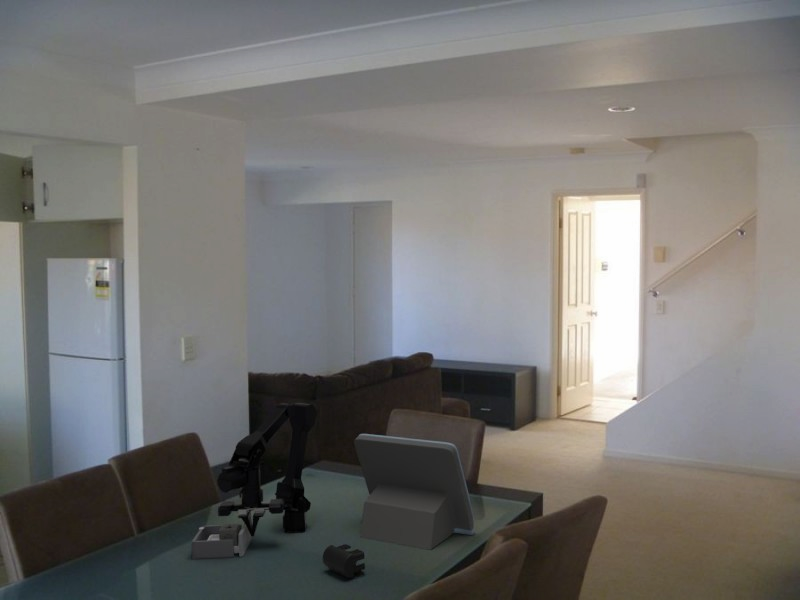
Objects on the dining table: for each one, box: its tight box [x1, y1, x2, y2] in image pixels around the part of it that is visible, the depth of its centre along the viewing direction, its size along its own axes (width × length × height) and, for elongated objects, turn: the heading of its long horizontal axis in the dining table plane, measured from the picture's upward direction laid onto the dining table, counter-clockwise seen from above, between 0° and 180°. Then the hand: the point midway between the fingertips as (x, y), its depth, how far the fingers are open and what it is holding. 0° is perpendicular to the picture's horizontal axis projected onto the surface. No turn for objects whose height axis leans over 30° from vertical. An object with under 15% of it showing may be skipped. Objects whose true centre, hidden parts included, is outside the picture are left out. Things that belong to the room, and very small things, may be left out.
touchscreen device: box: [353, 433, 475, 551], centre depth 242 cm, size 35×20×30 cm, turn 58°
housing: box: [190, 523, 243, 560], centre depth 235 cm, size 12×14×5 cm
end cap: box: [322, 543, 366, 580], centre depth 213 cm, size 10×7×7 cm
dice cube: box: [219, 523, 240, 546], centre depth 235 cm, size 5×5×5 cm
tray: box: [208, 522, 252, 558], centre depth 235 cm, size 12×14×6 cm
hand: (253, 536), depth 235 cm, fingers closed
